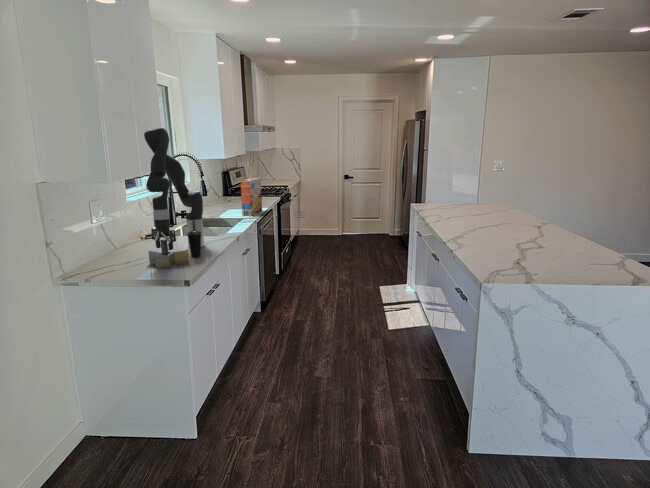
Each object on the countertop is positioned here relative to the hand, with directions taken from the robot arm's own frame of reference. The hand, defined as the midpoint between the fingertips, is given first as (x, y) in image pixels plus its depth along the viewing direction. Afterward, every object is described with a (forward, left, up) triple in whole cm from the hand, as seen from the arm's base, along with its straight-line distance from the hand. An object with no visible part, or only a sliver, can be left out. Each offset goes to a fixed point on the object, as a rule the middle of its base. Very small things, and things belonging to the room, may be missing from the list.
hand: (164, 248), depth 217 cm
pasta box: (-151, +3, -10) cm, 151 cm away
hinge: (-2, -1, -9) cm, 10 cm away
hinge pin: (0, 0, -9) cm, 9 cm away
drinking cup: (-19, +8, -10) cm, 23 cm away
